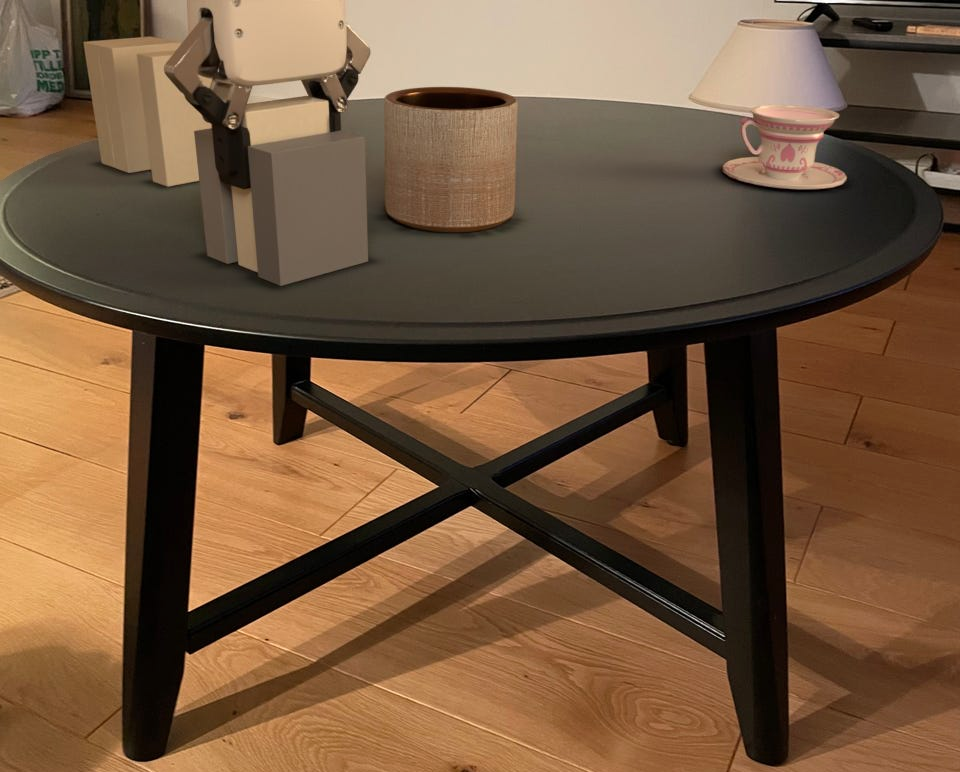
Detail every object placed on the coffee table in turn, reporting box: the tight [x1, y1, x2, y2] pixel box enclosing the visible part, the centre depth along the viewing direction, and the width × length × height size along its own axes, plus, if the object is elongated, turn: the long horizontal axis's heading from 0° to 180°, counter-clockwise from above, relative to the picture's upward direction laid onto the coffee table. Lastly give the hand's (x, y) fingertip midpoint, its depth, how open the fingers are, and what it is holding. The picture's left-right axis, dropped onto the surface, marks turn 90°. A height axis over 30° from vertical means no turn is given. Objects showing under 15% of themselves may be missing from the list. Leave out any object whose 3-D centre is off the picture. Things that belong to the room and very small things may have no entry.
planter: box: [383, 86, 519, 233], centre depth 84 cm, size 11×11×10 cm
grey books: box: [194, 128, 369, 287], centre depth 74 cm, size 8×9×9 cm
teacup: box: [722, 104, 848, 190], centre depth 101 cm, size 12×12×6 cm
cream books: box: [83, 36, 212, 188], centre depth 95 cm, size 7×12×11 cm, turn 47°
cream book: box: [231, 95, 330, 274], centre depth 73 cm, size 7×2×11 cm, turn 137°
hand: (282, 174), depth 73 cm, fingers closed on cream book, 7 cm apart
